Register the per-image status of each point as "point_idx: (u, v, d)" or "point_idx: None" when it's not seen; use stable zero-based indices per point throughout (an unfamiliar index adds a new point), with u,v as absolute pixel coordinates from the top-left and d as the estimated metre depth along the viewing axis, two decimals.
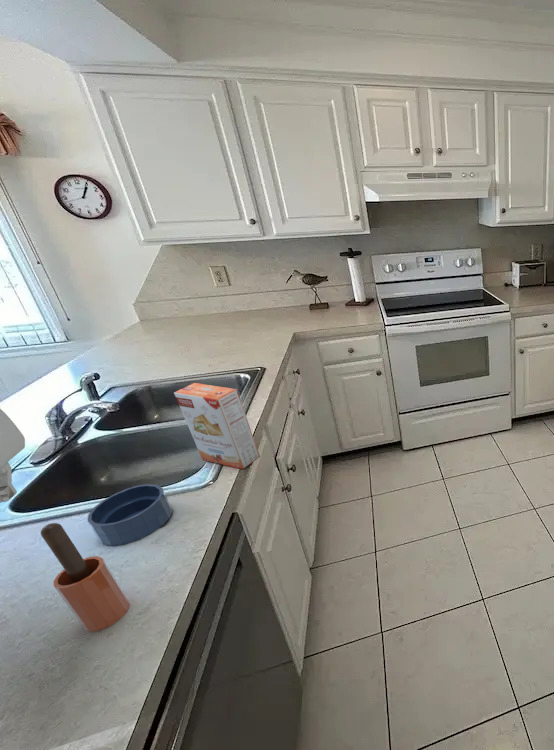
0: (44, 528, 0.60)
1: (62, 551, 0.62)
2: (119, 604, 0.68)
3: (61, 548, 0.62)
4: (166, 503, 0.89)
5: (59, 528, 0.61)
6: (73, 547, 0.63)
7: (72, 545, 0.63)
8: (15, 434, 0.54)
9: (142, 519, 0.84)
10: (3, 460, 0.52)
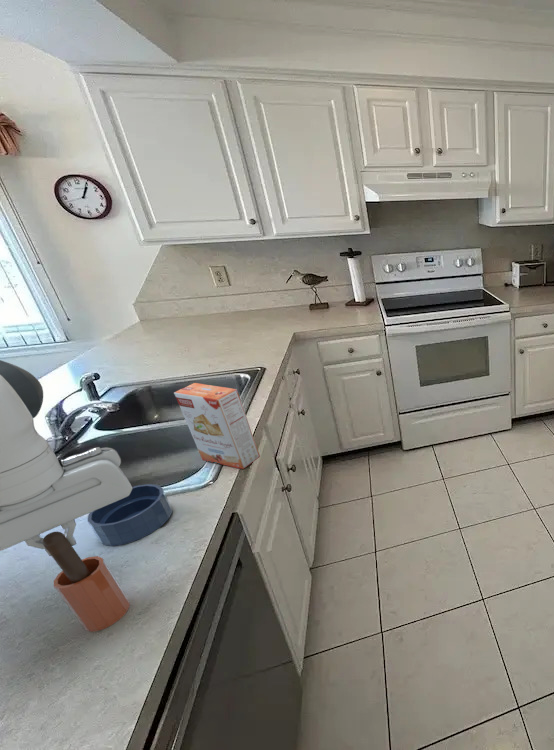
0: (46, 537, 0.59)
1: (64, 559, 0.61)
2: (119, 604, 0.68)
3: (64, 556, 0.60)
4: (166, 503, 0.89)
5: (62, 538, 0.60)
6: (75, 554, 0.62)
7: (74, 552, 0.62)
8: (119, 486, 0.64)
9: (142, 519, 0.84)
10: (93, 507, 0.63)
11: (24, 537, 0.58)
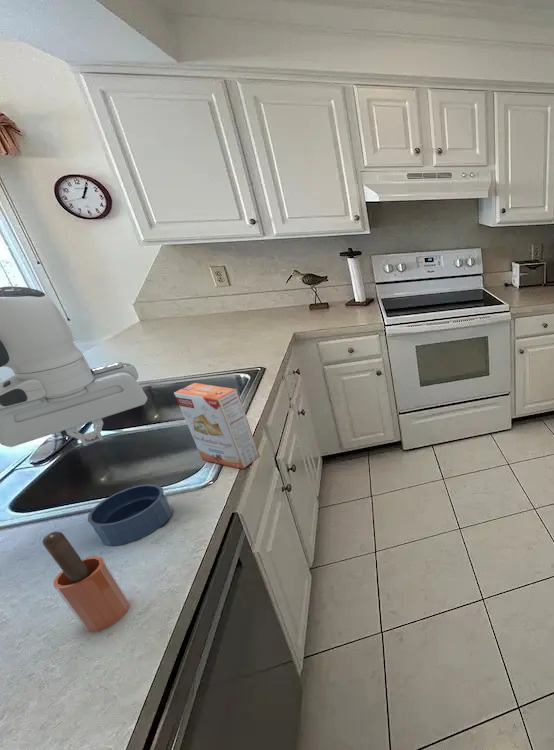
0: (46, 537, 0.59)
1: (64, 559, 0.61)
2: (119, 604, 0.68)
3: (64, 556, 0.60)
4: (166, 503, 0.89)
5: (62, 538, 0.60)
6: (75, 554, 0.62)
7: (74, 552, 0.62)
8: (137, 395, 0.81)
9: (142, 519, 0.84)
10: (117, 409, 0.79)
11: (65, 427, 0.74)
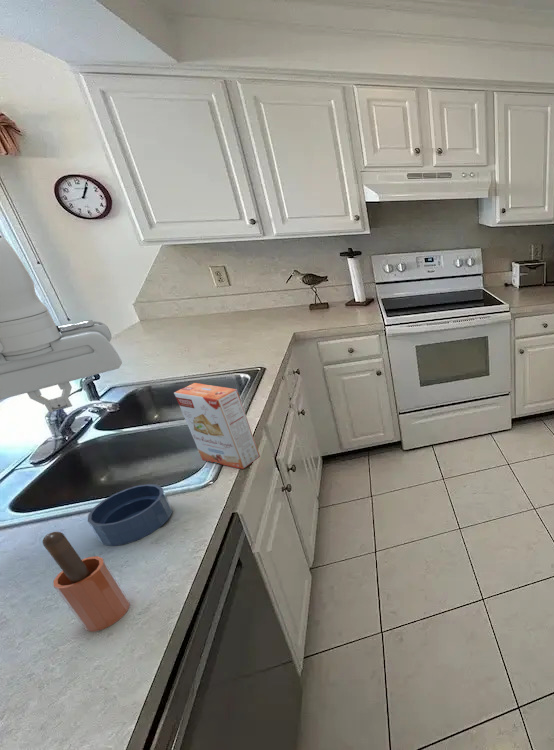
0: (46, 537, 0.59)
1: (64, 559, 0.61)
2: (119, 604, 0.68)
3: (64, 556, 0.60)
4: (166, 503, 0.89)
5: (62, 538, 0.60)
6: (75, 554, 0.62)
7: (74, 552, 0.62)
8: (110, 357, 0.73)
9: (142, 519, 0.84)
10: (87, 372, 0.71)
11: (27, 389, 0.66)
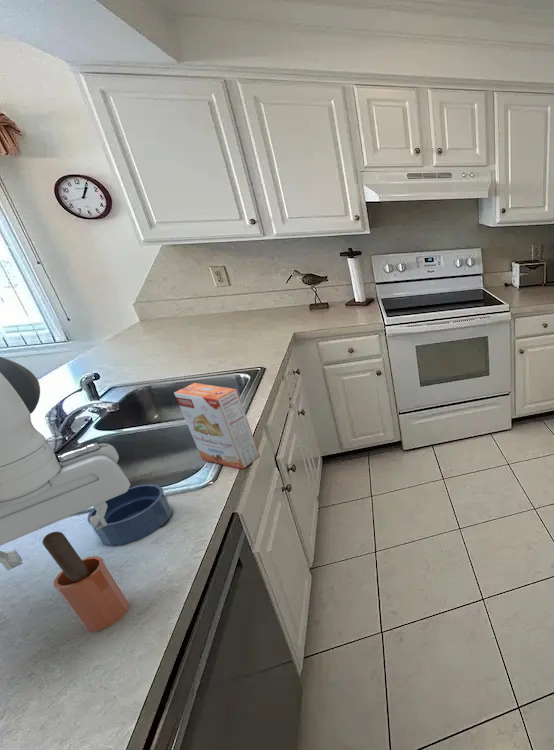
0: (46, 537, 0.59)
1: (64, 559, 0.61)
2: (119, 604, 0.68)
3: (64, 556, 0.60)
4: (166, 503, 0.89)
5: (62, 538, 0.60)
6: (75, 554, 0.62)
7: (74, 552, 0.62)
8: (117, 482, 0.64)
9: (142, 519, 0.84)
10: (91, 503, 0.62)
11: (21, 533, 0.57)
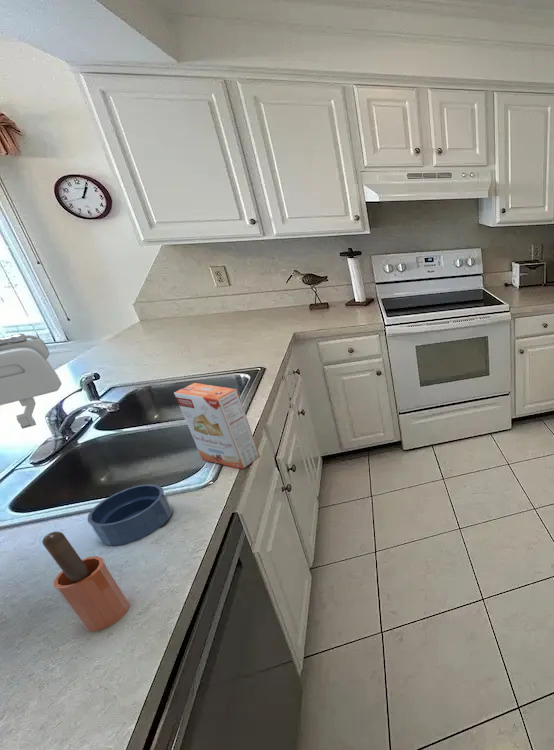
0: (46, 537, 0.59)
1: (64, 559, 0.61)
2: (119, 604, 0.68)
3: (64, 556, 0.60)
4: (166, 503, 0.89)
5: (62, 538, 0.60)
6: (75, 554, 0.62)
7: (74, 552, 0.62)
8: (46, 378, 0.61)
9: (142, 519, 0.84)
10: (16, 397, 0.60)
11: None
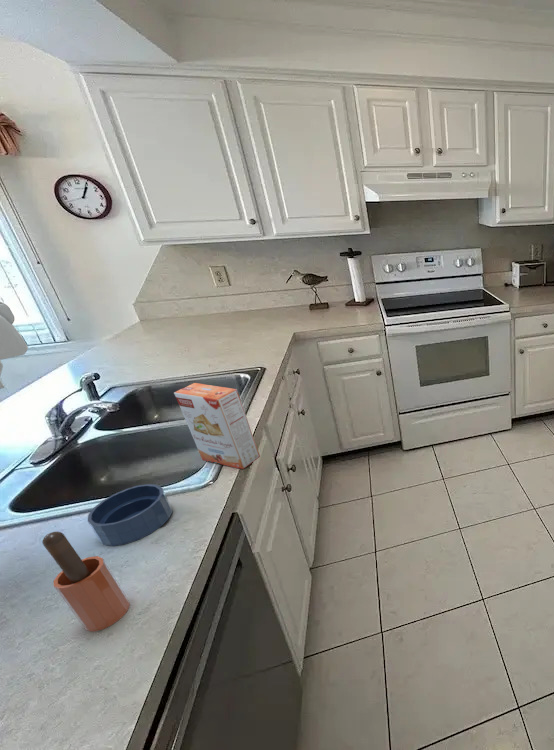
0: (46, 537, 0.59)
1: (64, 559, 0.61)
2: (119, 604, 0.68)
3: (64, 556, 0.60)
4: (166, 503, 0.89)
5: (62, 538, 0.60)
6: (75, 554, 0.62)
7: (74, 552, 0.62)
8: (11, 341, 0.64)
9: (142, 519, 0.84)
10: None
11: None
